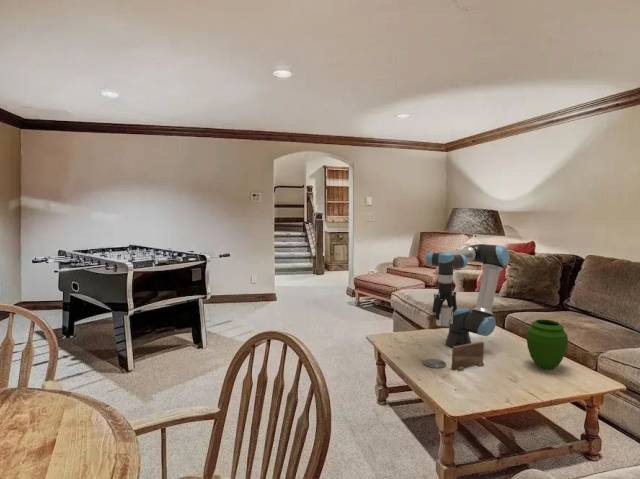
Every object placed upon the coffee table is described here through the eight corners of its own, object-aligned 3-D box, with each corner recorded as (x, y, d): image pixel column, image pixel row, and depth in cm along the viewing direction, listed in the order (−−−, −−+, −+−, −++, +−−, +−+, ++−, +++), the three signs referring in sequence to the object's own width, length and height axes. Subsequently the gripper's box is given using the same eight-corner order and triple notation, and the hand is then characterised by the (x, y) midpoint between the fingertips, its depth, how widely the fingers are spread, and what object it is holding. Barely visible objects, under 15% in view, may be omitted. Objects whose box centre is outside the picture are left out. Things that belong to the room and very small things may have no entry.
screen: (449, 367, 215) (449, 345, 214) (477, 361, 224) (478, 340, 222) (457, 371, 210) (457, 349, 209) (485, 365, 218) (486, 343, 217)
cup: (453, 327, 211) (454, 308, 210) (437, 326, 212) (437, 308, 211) (451, 322, 219) (451, 304, 218) (435, 322, 220) (436, 304, 219)
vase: (566, 377, 202) (569, 330, 200) (523, 369, 212) (525, 324, 210) (567, 364, 219) (569, 320, 216) (526, 357, 229) (528, 315, 227)
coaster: (418, 361, 223) (418, 360, 223) (435, 358, 228) (435, 357, 228) (433, 370, 212) (433, 368, 212) (450, 366, 217) (450, 365, 217)
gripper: (435, 285, 205) (434, 329, 207) (465, 281, 215) (463, 323, 217) (425, 282, 212) (424, 325, 214) (454, 279, 221) (453, 319, 223)
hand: (444, 324), depth 215 cm, fingers closed on cup, 8 cm apart
